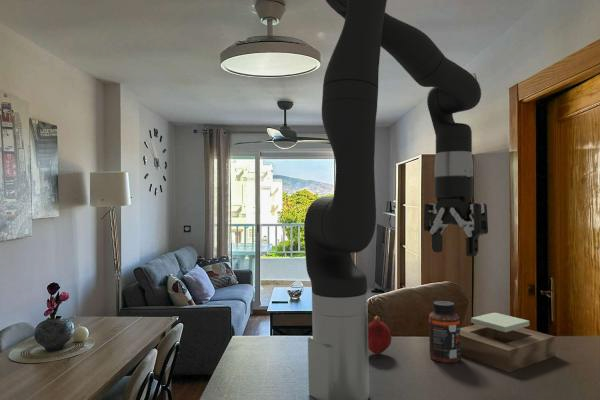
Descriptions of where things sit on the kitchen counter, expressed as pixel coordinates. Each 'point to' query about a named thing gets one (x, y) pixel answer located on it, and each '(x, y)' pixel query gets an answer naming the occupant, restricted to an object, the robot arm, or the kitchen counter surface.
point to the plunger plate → (500, 322)
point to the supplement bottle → (444, 333)
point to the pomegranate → (378, 336)
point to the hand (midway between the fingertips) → (453, 254)
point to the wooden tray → (506, 346)
